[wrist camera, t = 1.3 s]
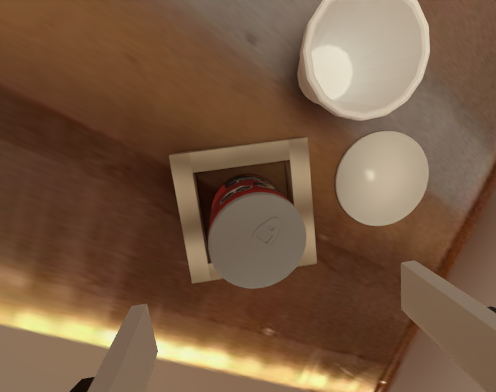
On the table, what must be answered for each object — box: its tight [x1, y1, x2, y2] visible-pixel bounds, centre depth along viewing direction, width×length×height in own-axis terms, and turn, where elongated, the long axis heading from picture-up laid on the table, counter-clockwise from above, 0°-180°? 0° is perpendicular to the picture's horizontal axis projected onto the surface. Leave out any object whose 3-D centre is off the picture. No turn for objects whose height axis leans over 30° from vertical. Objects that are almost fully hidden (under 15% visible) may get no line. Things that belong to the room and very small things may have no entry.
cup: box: [297, 0, 430, 121], centre depth 26 cm, size 10×10×9 cm
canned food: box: [208, 174, 307, 289], centre depth 28 cm, size 8×8×11 cm
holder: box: [169, 137, 317, 283], centre depth 32 cm, size 14×14×2 cm
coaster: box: [335, 131, 429, 226], centre depth 34 cm, size 11×11×1 cm
